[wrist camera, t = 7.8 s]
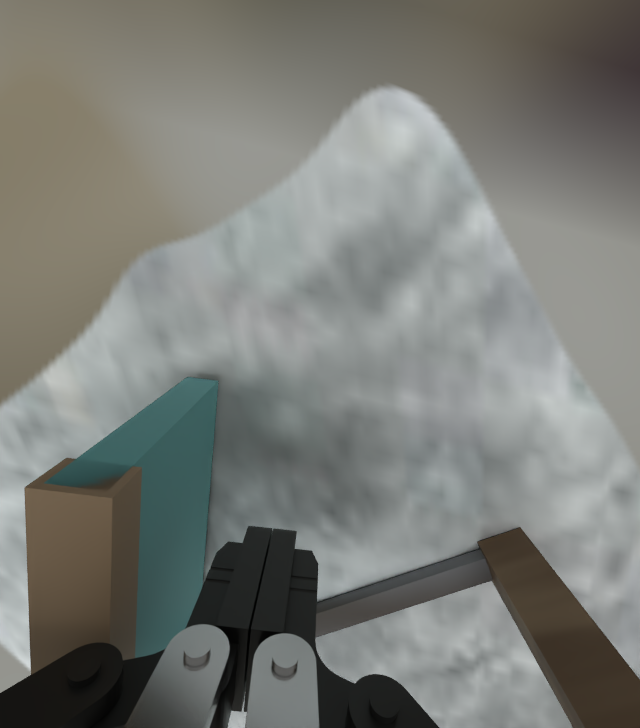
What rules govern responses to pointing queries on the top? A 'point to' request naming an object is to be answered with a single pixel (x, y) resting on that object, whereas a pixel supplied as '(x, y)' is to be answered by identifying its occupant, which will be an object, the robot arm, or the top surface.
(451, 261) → the top surface
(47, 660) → the panel
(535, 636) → the gate frame
